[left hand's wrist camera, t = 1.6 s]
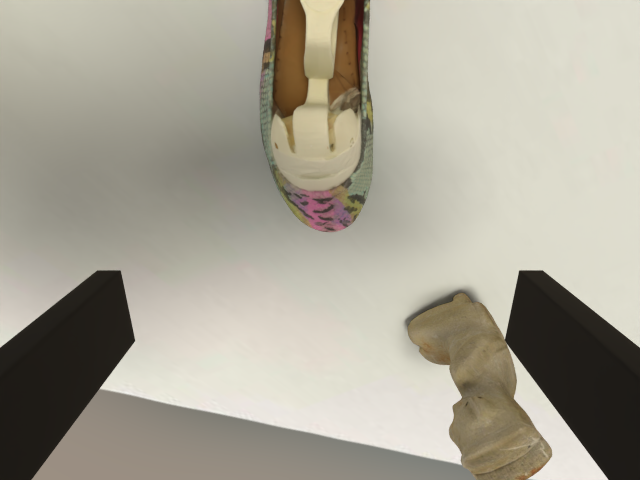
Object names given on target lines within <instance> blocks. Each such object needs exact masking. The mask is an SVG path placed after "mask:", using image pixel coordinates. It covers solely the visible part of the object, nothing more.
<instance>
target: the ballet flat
mask: <svg viewBox="0 0 640 480" xmlns="http://www.w3.org/2000/svg"><path fill="white" fill-rule="evenodd" d="M369 15H370V0H269V8H268V23H267V29H266V37H265V45H264V52H263V60H262V72H261V81H260V122H261V133H262V140H263V145H264V148H265V152H266V155H267V158H268V162H269V165H270V168H271V171H272V174H273V177H274V180H275V182H276V185H277V187H278V190H279V191H280V193H281V195H282V197H283V199H284V200H285V202H286V203H287V205H288V206H289V208H290V209H291V211H292V212H293V213H294V214H295V216H296V217H297V218H298V219H299V220H301V221H302V222H303V223H304V224H306V225H308V226H309V227H311V228H314V229H316V230H320V231H324V232H336V231H339V230H342V229H344V228H346V227H348V226H349V225H350V224H352V223H353V222H354V221H355V219H356V218H357V216H358V214H359V213H360V211H361V209H362V207H363V205H364V203H365V200H366V198H367V195H368V191H369V188H370V184H371V179H372V171H373V109H372V101H371V95H370V91H369V82H368V72H367V67H368V39H369Z"/></svg>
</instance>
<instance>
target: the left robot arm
mask: <svg viewBox="0 0 640 480" xmlns="http://www.w3.org/2000/svg"><path fill="white" fill-rule="evenodd" d="M134 342H135V338H134V333H133V328H132V323H131V318H130V314H129V309H128V304H127V299H126V294H125V289H124V284H123V280H122V275H121V271H96V272H95V273H94V274H92V275H91V276H90V277H89V278H87V279H86V280H85V281H84V282H82V283H81V284H80V285H79V286H77V287H76V288H75V289H74V290H72V291H71V292H70V293H69V294H67V295H66V296H65V297H63V298H62V299H61V300H60V301H58V302H57V303H56V304H55V305H53V306H52V307H51V308H50V309H48V310H47V311H46V312H45V313H43V314H42V315H41V316H40V317H38V318H37V319H36V320H35V321H33V322H32V323H31V324H30V325H28V326H27V327H26V328H25V329H23V330H22V331H21V332H19V333H18V334H17V335H16V336H14V337H13V338H12V339H11V340H9V341H8V342H7V343H6V344H4V345H3V346H2V347H1V348H0V480H31V479H32V478H33V477H34V475H35V474H36V473H37V471H38V470H39V469H40V467H41V466H42V465H43V463H44V462H45V461H46V459H47V458H48V457H49V455H50V454H51V453H52V451H53V450H54V449H55V447H56V446H57V445H58V443H59V442H60V441H61V439H62V438H63V437H64V435H65V434H66V433H67V431H68V430H69V429H70V427H71V426H72V425H73V423H74V422H75V421H76V419H77V418H78V417H79V415H80V414H81V413H82V411H83V410H84V409H85V407H86V406H87V405H88V403H89V402H90V401H91V399H92V398H93V397H94V395H95V394H96V393H97V391H98V390H99V389H100V387H101V386H102V385H103V383H104V382H105V380H106V379H107V378H108V376H109V375H110V374H111V372H112V371H113V370H114V368H115V367H116V366H117V364H118V363H119V362H120V360H121V359H122V358H123V356H124V355H125V354H126V352H127V351H128V350H129V348H130V347H131V346H132V344H133V343H134ZM505 342H506V343H507V344H508V346H509V347H510V348H511V350H512V351H513V352H514V354H515V355H516V356H517V358H518V359H519V360H520V362H521V363H522V364H523V366H524V367H525V368H526V370H527V371H528V372H529V374H530V375H531V376H532V378H533V379H534V380H535V382H536V383H537V385H538V386H539V387H540V389H541V390H542V391H543V393H544V394H545V395H546V397H547V398H548V399H549V401H550V402H551V403H552V405H553V406H554V407H555V409H556V410H557V411H558V413H559V414H560V415H561V417H562V418H563V419H564V421H565V422H566V423H567V425H568V426H569V427H570V429H571V430H572V431H573V433H574V434H575V435H576V437H577V438H578V439H579V441H580V442H581V443H582V445H583V446H584V447H585V449H586V450H587V451H588V453H589V454H590V455H591V457H592V458H593V459H594V461H595V462H596V463H597V465H598V466H599V467H600V469H601V470H602V471H603V473H604V474H605V475H606V477H607V478H608V480H640V348H639V347H638V346H637V345H636V344H634V343H633V342H632V341H631V340H629V339H628V338H627V337H626V336H624V335H623V334H622V333H621V332H619V331H618V330H617V329H615V328H614V327H613V326H612V325H610V324H609V323H608V322H607V321H605V320H604V319H603V318H602V317H600V316H599V315H598V314H597V313H595V312H594V311H593V310H592V309H590V308H589V307H588V306H587V305H585V304H584V303H583V302H582V301H580V300H579V299H578V298H577V297H575V296H574V295H573V294H571V293H570V292H569V291H568V290H566V289H565V288H564V287H563V286H561V285H560V284H559V283H558V282H556V281H555V280H554V279H553V278H551V277H550V276H549V275H548V274H546V273H545V272H544V271H519V275H518V280H517V284H516V289H515V294H514V299H513V304H512V309H511V314H510V318H509V323H508V328H507V333H506V338H505Z"/></svg>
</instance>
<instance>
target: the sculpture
mask: <svg viewBox="0 0 640 480" xmlns="http://www.w3.org/2000/svg"><path fill="white" fill-rule="evenodd" d="M408 335H409V337H410V339H411V341H412V342H413V343H414V344H416V345H419V346H420V349H419V352H420V353H421V354H422V355H423V356H424V357H425V358H426V359H427V360H428V361H430V362H432V363H435V364H440V365H450V368H449V369H450V373H451V376H452V378H453V381H454V383H455V384H456V386H457V388H458V390H459V392H460V394H461V396H462V399H461V400H460V401H458V402H457V403H456V404H454V405H453V412H454V419H453V422H452V424H451V425H450V428H449V435H450V438H451V439H452V441H453V442H454V443H455V444H456V445H457V446H458V448H459V449H460V451H461V454H462V456H461V463H462V465H463V467H464V468H466V469H468V470H470V472H471V473H472V474H473V476H474V477H475V478H476V480H526V479H528V478H529V477H531V476H533V475H534V474H536V473H537V472H538V471H539V470H541V468H542V467H543V466H544V465H545V464H546V463H547V462H548V461H549V460H550V458H551V457H552V449H551V447H550V446H549V444H548V443H547V442H546V441H545V439H544V438H543V437H542V436H541V434H540V433H539V432H538V431H537V430H536V428H535V426H534V425H533V423H532V421H531V419H530V418H529V416H528V415H527V413H526V412H525V411H524V410H523V409H522V408H521V407H520V406H519V404H518V403H517V402H516V401H515V400H514V394H515V390H516V383H517V379H516V373H515V369H514V364H513V361H512V357H511V354H510V352H509V349H508V347H507V344H506V342H505V339H504V337H503V335H502V333H501V331H500V329H499V328H498V326H497V325H496V323H495V321H494V319H493V317H492V316H491V314H490V313H489V311H488V310H487V309H486V307H485V306H484V305H483V304H482V303H479V302H475V303H472V301H471V300H470V299H469V297H468V296H467V295H466V294H464V293H459V294H457V295H455V296H454V297H453V301H452V302H449V303H446V304H442V305H439V306H437V307H434V308H432V309H430V310H427V311H426V312H424V313H422V314H420V315H418V316H417V317H416V318H414V319H413V320H412V321H411V322H410V324H409V326H408Z"/></svg>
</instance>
